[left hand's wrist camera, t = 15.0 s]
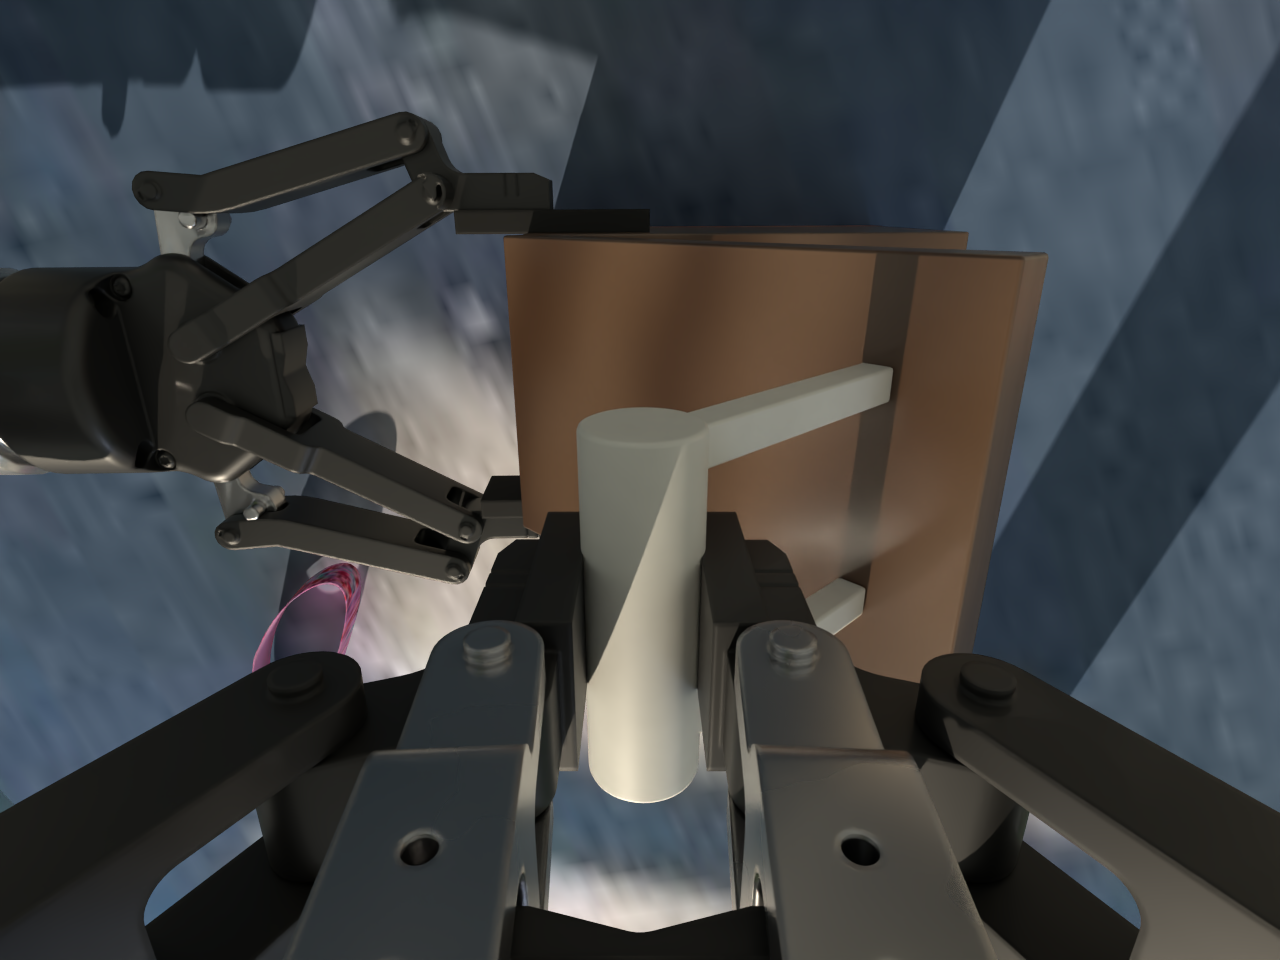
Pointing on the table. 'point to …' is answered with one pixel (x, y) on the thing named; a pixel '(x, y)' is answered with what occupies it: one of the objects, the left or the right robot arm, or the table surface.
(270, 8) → the table surface
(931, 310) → the lid
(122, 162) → the table surface
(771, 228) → the chest
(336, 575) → the pink hollow oval piece
